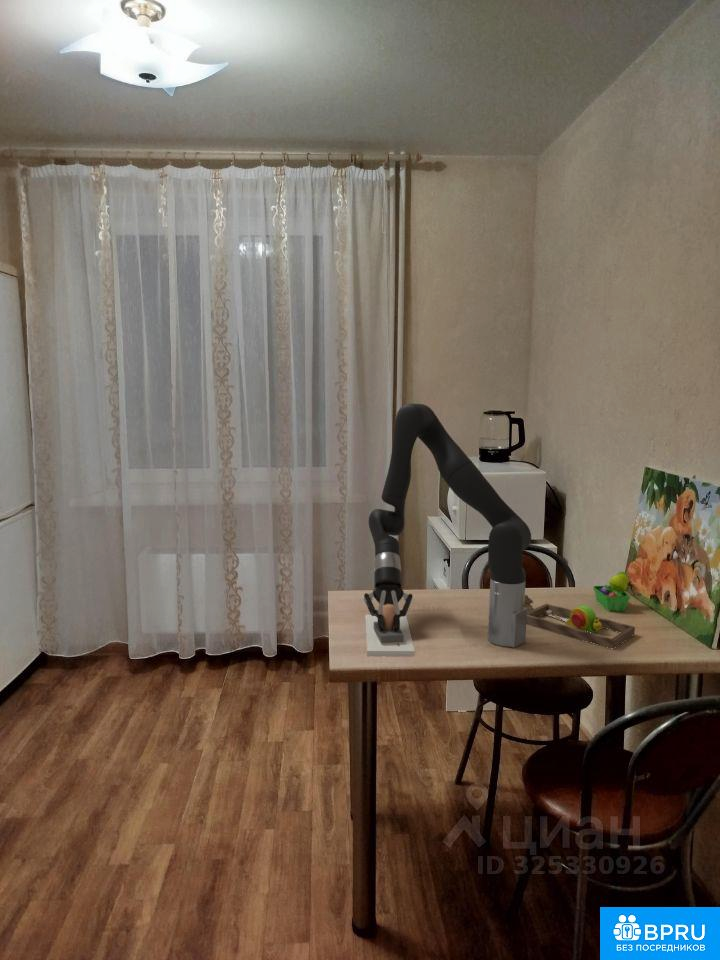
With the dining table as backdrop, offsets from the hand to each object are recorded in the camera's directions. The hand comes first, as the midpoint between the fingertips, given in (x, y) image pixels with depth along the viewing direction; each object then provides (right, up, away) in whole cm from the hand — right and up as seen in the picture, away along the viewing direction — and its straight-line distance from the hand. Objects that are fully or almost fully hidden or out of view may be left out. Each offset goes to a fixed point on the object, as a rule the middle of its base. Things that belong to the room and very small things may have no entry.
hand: (388, 629), depth 172 cm
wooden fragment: (+42, 0, +37) cm, 56 cm away
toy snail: (+54, -3, +18) cm, 57 cm away
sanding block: (0, -2, +3) cm, 4 cm away
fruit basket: (+72, 0, +33) cm, 79 cm away
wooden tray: (+54, -3, +14) cm, 56 cm away
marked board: (0, -3, +7) cm, 7 cm away
